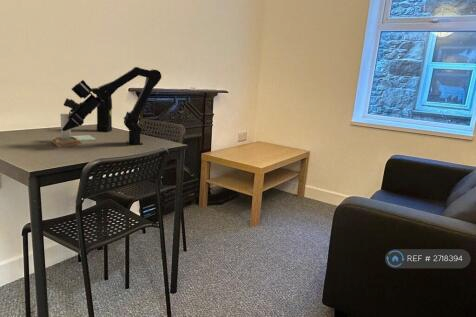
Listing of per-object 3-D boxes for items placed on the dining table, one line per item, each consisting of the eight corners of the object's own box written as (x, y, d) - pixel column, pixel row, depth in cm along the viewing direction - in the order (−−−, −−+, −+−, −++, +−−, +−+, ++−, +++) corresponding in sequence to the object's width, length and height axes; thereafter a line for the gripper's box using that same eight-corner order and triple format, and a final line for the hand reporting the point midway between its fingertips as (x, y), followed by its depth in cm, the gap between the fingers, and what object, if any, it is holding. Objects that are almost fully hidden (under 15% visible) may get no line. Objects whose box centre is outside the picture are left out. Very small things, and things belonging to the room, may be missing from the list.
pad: (95, 140, 176) (95, 138, 175) (74, 141, 169) (74, 140, 169) (89, 136, 183) (89, 135, 183) (68, 137, 176) (68, 136, 176)
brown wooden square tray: (80, 145, 162) (80, 140, 161) (57, 147, 155) (57, 141, 155) (74, 141, 169) (74, 136, 169) (52, 142, 163) (51, 137, 162)
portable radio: (114, 130, 203) (114, 87, 197) (109, 132, 197) (109, 88, 191) (101, 129, 204) (100, 86, 198) (96, 131, 198) (95, 86, 192)
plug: (75, 145, 162) (74, 115, 159) (61, 145, 158) (59, 115, 155) (71, 142, 166) (70, 113, 163) (57, 143, 163) (56, 113, 159)
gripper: (74, 91, 166) (49, 113, 164) (74, 94, 150) (47, 119, 148) (92, 108, 172) (68, 129, 170) (94, 113, 155) (67, 137, 153)
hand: (62, 128), depth 160 cm, fingers open, 9 cm apart
